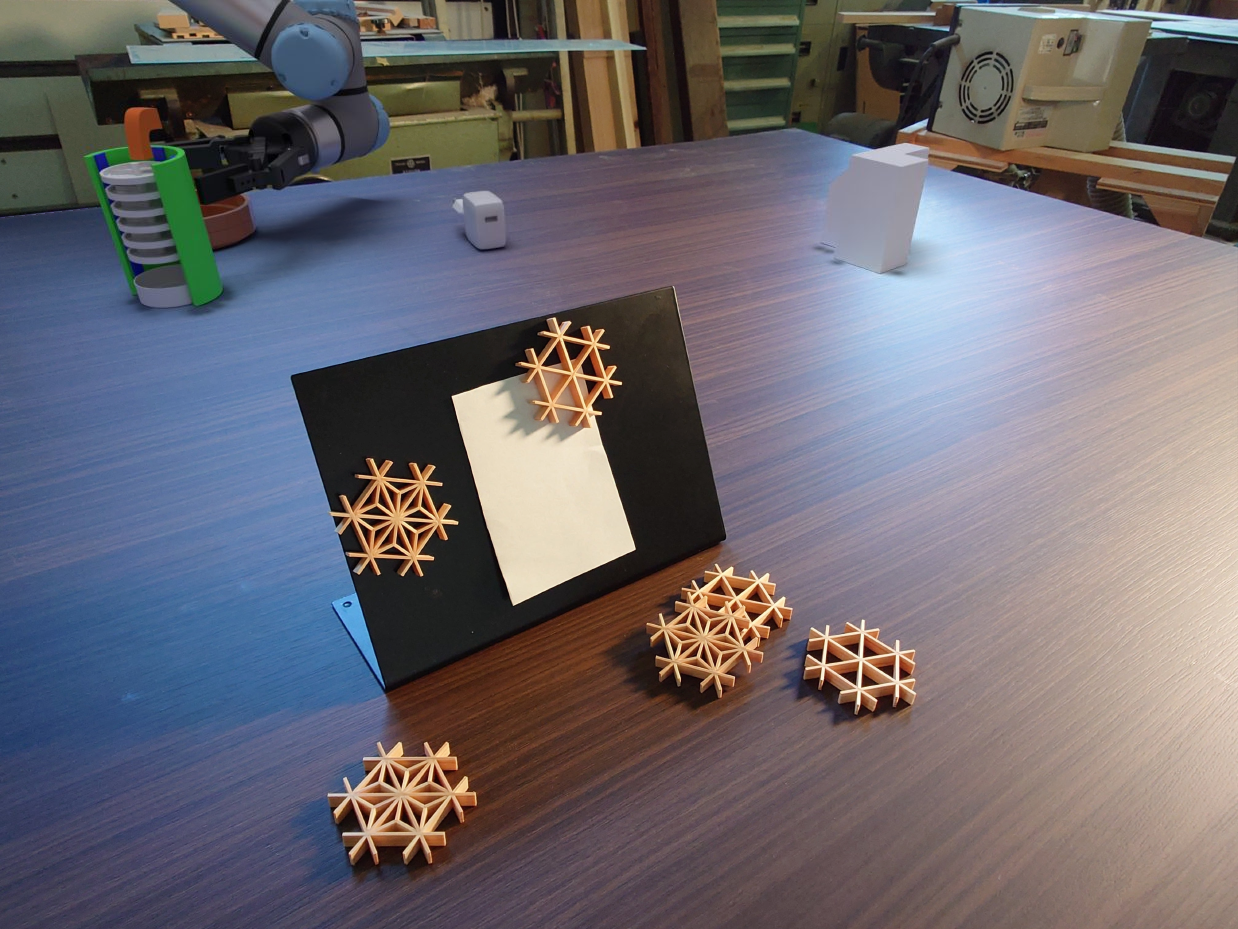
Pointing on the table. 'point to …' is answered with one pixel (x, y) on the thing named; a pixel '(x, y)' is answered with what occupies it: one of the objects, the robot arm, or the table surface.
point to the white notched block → (876, 206)
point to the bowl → (228, 220)
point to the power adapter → (482, 219)
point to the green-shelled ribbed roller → (155, 217)
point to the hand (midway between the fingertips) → (150, 183)
